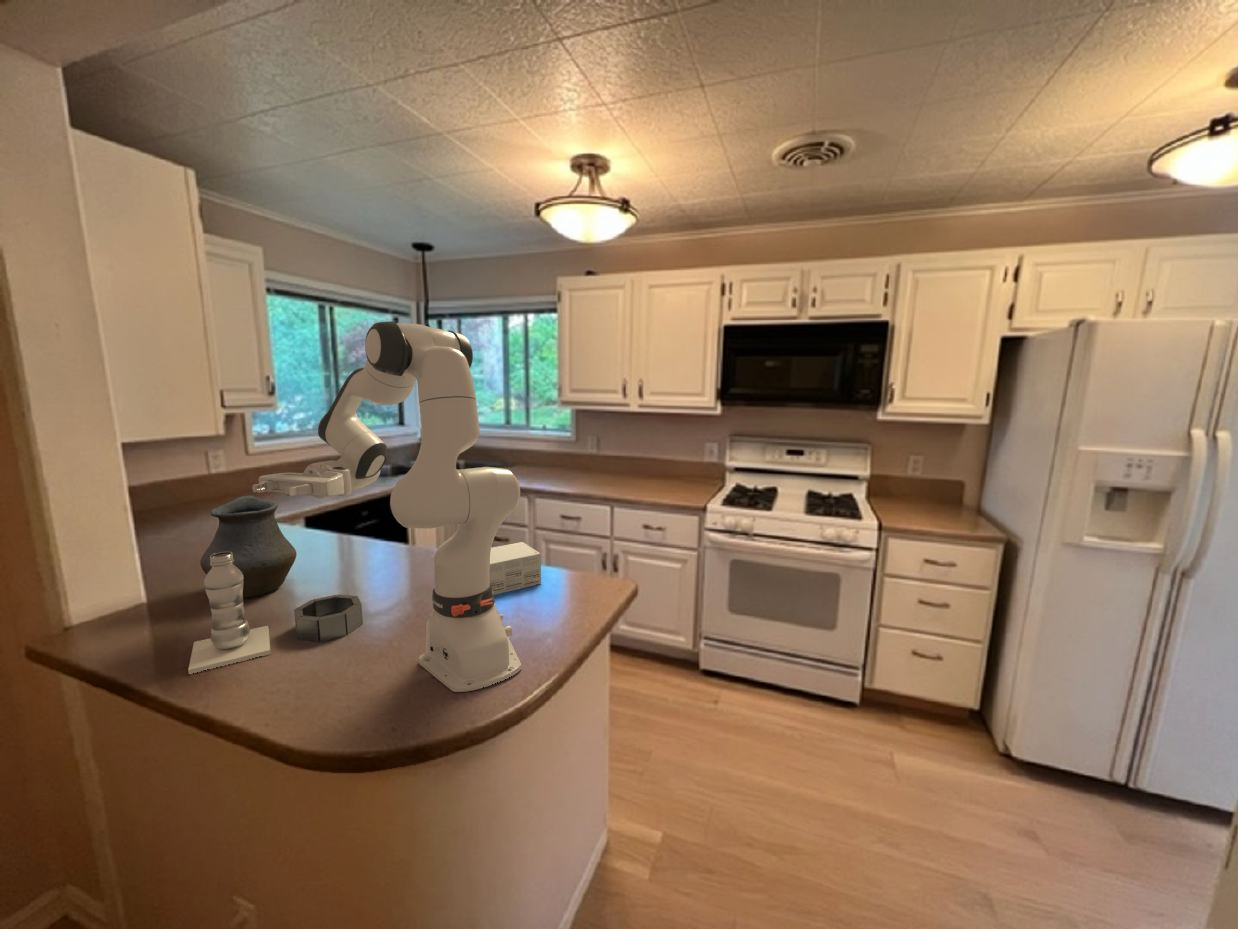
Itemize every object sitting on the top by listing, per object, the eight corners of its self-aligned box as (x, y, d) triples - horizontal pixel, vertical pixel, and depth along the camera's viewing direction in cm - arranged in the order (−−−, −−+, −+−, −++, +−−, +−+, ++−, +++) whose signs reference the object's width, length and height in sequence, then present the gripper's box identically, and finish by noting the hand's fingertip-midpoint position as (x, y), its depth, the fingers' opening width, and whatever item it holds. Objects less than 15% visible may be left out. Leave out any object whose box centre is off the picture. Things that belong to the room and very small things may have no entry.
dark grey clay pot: (202, 615, 121) (189, 515, 117) (208, 586, 138) (197, 498, 134) (302, 595, 133) (293, 504, 129) (296, 570, 150) (288, 489, 146)
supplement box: (523, 570, 153) (522, 541, 152) (541, 584, 143) (541, 553, 141) (468, 581, 144) (467, 550, 143) (484, 598, 133) (483, 564, 132)
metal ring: (366, 630, 115) (364, 609, 114) (299, 647, 107) (296, 625, 106) (356, 609, 125) (354, 590, 124) (294, 623, 117) (292, 603, 117)
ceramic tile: (270, 654, 104) (270, 649, 104) (188, 674, 96) (188, 670, 96) (268, 629, 114) (268, 625, 114) (194, 646, 107) (194, 642, 107)
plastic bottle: (259, 639, 108) (249, 550, 105) (229, 655, 101) (218, 561, 98) (234, 636, 109) (224, 548, 106) (203, 652, 103) (191, 558, 100)
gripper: (288, 465, 127) (234, 474, 114) (354, 469, 122) (305, 479, 109) (291, 489, 128) (237, 500, 115) (356, 494, 123) (307, 507, 110)
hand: (271, 490), depth 112 cm, fingers open, 8 cm apart
